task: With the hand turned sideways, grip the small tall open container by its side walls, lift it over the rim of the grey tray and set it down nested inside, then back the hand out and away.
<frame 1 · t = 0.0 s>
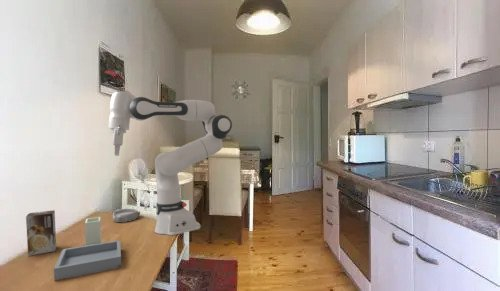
hand: (116, 155, 130), 39 cm above the table, tool pointing down, fingers open, 8 cm apart
coffee box: (42, 251, 117), on the table
grey tray: (91, 263, 104), on the table
small tall open container: (93, 247, 120), on the table
dish: (125, 220, 161), on the table
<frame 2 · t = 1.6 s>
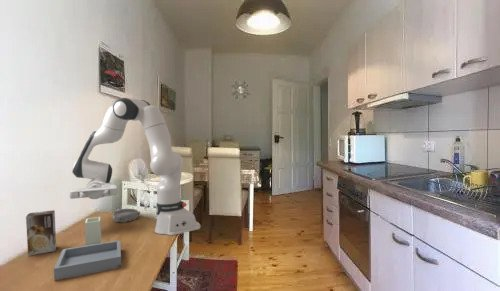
hand: (93, 195, 130), 20 cm above the table, tool horizontal, fingers open, 7 cm apart
nothing on the table moved.
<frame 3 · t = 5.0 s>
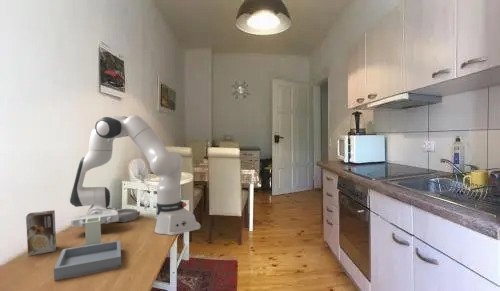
hand: (95, 223, 130), 7 cm above the table, tool horizontal, fingers open, 8 cm apart
nothing on the table moved.
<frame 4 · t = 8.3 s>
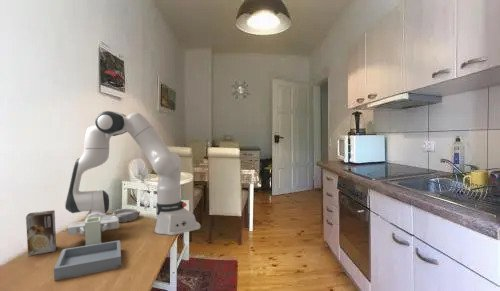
hand: (93, 231, 119), 7 cm above the table, tool horizontal, fingers closed on small tall open container, 5 cm apart
small tall open container: (93, 247, 120), on the table, touching gripper
everything else where it was.
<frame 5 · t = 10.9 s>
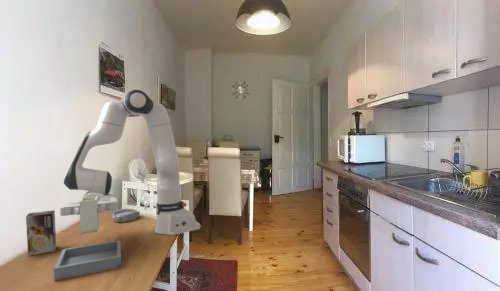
hand: (89, 211, 106), 19 cm above the table, tool horizontal, fingers closed on small tall open container, 5 cm apart
small tall open container: (89, 230, 106), point 12 cm above the table, touching gripper
everything else where it was.
when the fingers open (9 cm above the table, at t = 13.9 s): small tall open container drops 1 cm, resting on grey tray.
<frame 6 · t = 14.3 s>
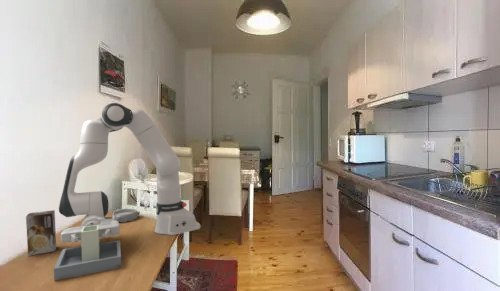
hand: (90, 238, 104), 9 cm above the table, tool horizontal, fingers open, 8 cm apart
small tall open container: (91, 260, 105), point 1 cm above the table, touching grey tray
everything else where it was.
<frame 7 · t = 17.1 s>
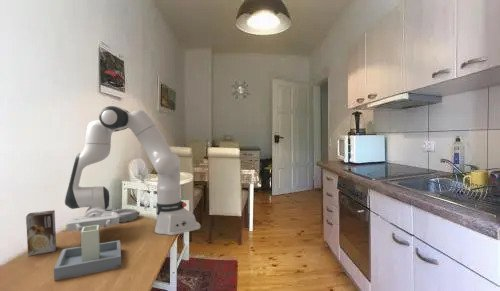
hand: (92, 227, 117), 10 cm above the table, tool horizontal, fingers open, 8 cm apart
nothing on the table moved.
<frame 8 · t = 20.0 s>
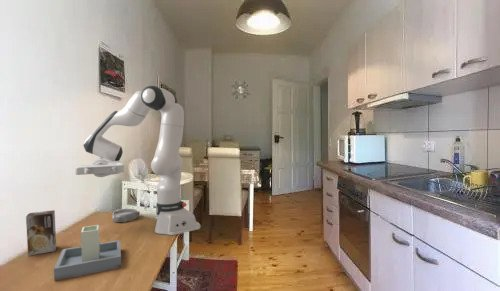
hand: (100, 170, 126), 32 cm above the table, tool horizontal, fingers open, 8 cm apart
nothing on the table moved.
at the end: small tall open container inside the target area on the grey tray (0.5 cm from its centre), point 1.0 cm above the grey tray's base; small tall open container tilted 0°; the gripper is holding nothing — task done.
